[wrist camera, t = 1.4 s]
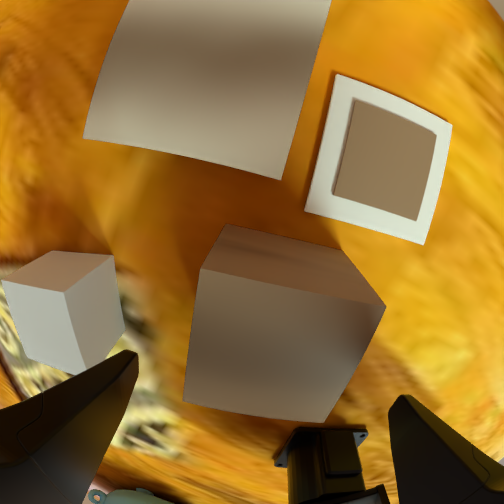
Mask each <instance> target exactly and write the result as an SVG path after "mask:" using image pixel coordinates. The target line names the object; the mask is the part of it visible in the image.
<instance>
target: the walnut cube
mask: <svg viewBox="0 0 504 504" xmlns="http://www.w3.org/2000/svg"><path fill="white" fill-rule="evenodd" d="M385 309H386V305H385V304H384V303H383V301H382V300H381V299H380V297H379V296H378V295H377V293H376V292H375V291H374V290H373V288H372V287H371V286H370V284H369V283H368V282H367V281H366V279H365V278H364V277H363V275H362V274H361V273H360V272H359V270H358V269H357V268H356V267H355V265H354V264H353V263H352V262H351V260H350V259H349V258H348V257H347V255H346V254H345V253H344V252H343V251H342V250H338V249H334V248H330V247H326V246H322V245H318V244H313V243H309V242H305V241H301V240H297V239H292V238H288V237H284V236H279V235H275V234H271V233H266V232H262V231H258V230H253V229H249V228H244V227H240V226H235V225H231V224H226V225H225V226H224V228H223V230H222V231H221V233H220V235H219V236H218V238H217V240H216V242H215V243H214V245H213V247H212V249H211V250H210V252H209V254H208V256H207V257H206V259H205V261H204V263H203V264H202V266H201V268H200V273H199V280H198V286H197V292H196V299H195V306H194V313H193V320H192V327H191V334H190V342H189V350H188V358H187V366H186V374H185V383H184V393H183V401H184V402H188V403H192V404H196V405H200V406H205V407H209V408H214V409H219V410H224V411H229V412H234V413H240V414H246V415H252V416H259V417H266V418H273V419H282V420H291V421H302V422H316V423H324V421H325V420H326V418H327V417H328V415H329V414H330V412H331V410H332V409H333V407H334V406H335V404H336V402H337V401H338V399H339V397H340V396H341V394H342V392H343V391H344V389H345V387H346V386H347V384H348V382H349V380H350V379H351V377H352V375H353V373H354V372H355V370H356V368H357V366H358V364H359V362H360V361H361V359H362V357H363V355H364V353H365V351H366V349H367V347H368V345H369V343H370V341H371V339H372V337H373V335H374V333H375V331H376V329H377V327H378V324H379V322H380V320H381V318H382V316H383V313H384V311H385Z"/></svg>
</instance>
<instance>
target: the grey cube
mask: <svg viewBox="0 0 504 504" xmlns="http://www.w3.org/2000/svg"><path fill="white" fill-rule="evenodd" d="M1 281H2V285H3V289H4V293H5V296H6V300H7V303H8V306H9V309H10V313H11V316H12V319H13V322H14V324H15V327H16V330H17V333H18V335H19V338H20V341H21V343H22V346H23V348H24V351H25V353H26V355H27V357H28V358H30V359H32V360H35V361H37V362H40V363H43V364H45V365H48V366H51V367H53V368H56V369H59V370H62V371H65V372H68V373H71V374H74V375H77V374H79V373H81V372H83V371H85V370H87V369H89V368H91V367H93V366H95V365H97V364H98V363H100V362H102V361H104V359H105V358H106V356H107V355H108V354H109V352H110V351H111V349H112V348H113V347H114V345H115V344H116V342H117V341H118V340H119V338H120V337H121V336H122V334H123V333H124V331H125V325H124V320H123V315H122V309H121V304H120V298H119V292H118V285H117V278H116V271H115V263H114V255H104V254H90V253H77V252H64V251H50V252H48V253H47V254H45V255H43V256H41V257H39V258H38V259H36V260H34V261H32V262H30V263H29V264H27V265H25V266H23V267H22V268H20V269H18V270H17V271H15V272H13V273H12V274H10V275H8V276H7V277H5V278H3V279H2V280H1Z"/></svg>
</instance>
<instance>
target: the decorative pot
mask: <svg viewBox="0 0 504 504" xmlns="http://www.w3.org/2000/svg"><path fill="white" fill-rule="evenodd" d="M94 495H98V496H100V500H99V501H96V500H95V499H94ZM88 497H89V500H90V501H91V502H93V503H95V504H173V503H171V502H168V501H165V500H163V499H160V498H157V497H155V496H154V494H153V493H152V492H150V491H148V490H146V489H142V488H136V491H134V490H124V489H119V490H115V491H113V492H110V493H109V494H107V495H106V494H105V493H104V492H102V491H100V490H96V489H93V490H91V491H90V492H89V494H88Z"/></svg>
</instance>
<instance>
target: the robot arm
mask: <svg viewBox="0 0 504 504" xmlns="http://www.w3.org/2000/svg"><path fill="white" fill-rule="evenodd" d="M138 374H139V361H138V354H137V353H136V352H133V351H130V350H123V351H121V352H119V353H117V354H116V355H114V356H112V357H110V358H108V359H106V360H104V361H102V362H100V363H98V364H97V365H95V366H93V367H91V368H89V369H87V370H85V371H83V372H81V373H79V374H77V375H75V376H73V377H71V378H69V379H67V380H65V381H63V382H61V383H59V384H57V385H55V386H53V387H51V388H49V389H47V390H45V391H44V392H43V393H42V392H41V393H39V394H37V395H35V396H33V397H31V398H29V399H26V400H24V401H22V402H20V403H17V404H14V405H12V406H9V407H6V408H3V409H0V504H82V502H83V500H84V498H85V496H86V493H87V491H88V489H89V487H90V485H91V483H92V480H93V478H94V476H95V474H96V472H97V470H98V468H99V465H100V463H101V461H102V459H103V457H104V455H105V453H106V451H107V449H108V447H109V445H110V443H111V441H112V439H113V437H114V434H115V432H116V430H117V428H118V426H119V424H120V422H121V420H122V418H123V416H124V414H125V411H126V408H127V406H128V403H129V400H130V397H131V394H132V392H133V389H134V386H135V383H136V381H137V378H138ZM388 420H389V430H390V442H391V451H392V457H393V463H394V469H395V475H396V482H397V489H398V497H399V504H504V466H503V465H501V464H499V463H498V462H496V461H495V460H493V459H492V458H490V457H489V456H487V455H486V454H484V453H483V452H482V451H480V450H479V449H478V448H477V447H475V446H474V445H473V444H471V443H470V442H469V441H468V440H466V439H465V438H464V437H463V436H461V435H460V434H459V433H458V432H456V431H455V430H454V429H452V428H451V427H450V426H449V425H447V424H446V423H445V422H444V421H442V420H441V419H440V418H439V417H437V416H436V415H435V414H434V413H432V412H431V411H430V410H429V409H427V408H426V407H425V406H424V405H422V404H421V403H420V402H419V401H418V400H416V399H415V398H414V397H413V396H411V395H408V394H407V395H400V396H399V397H398V398H397V399H396V401H395V402H394V404H393V405H392V406H391V408H390V409H389V412H388ZM367 436H368V431H367V429H325V428H307V427H299V428H296V429H295V430H294V431H293V433H292V434H291V436H290V438H289V439H288V441H287V442H286V444H285V446H284V447H283V449H282V450H281V452H280V453H279V455H278V457H277V458H276V460H275V461H274V466H276V467H283V468H287V473H288V499H289V504H390V502H389V499H388V496H387V493H386V490H385V487H384V484H380V485H377V486H376V487H374V488H371V489H368V490H366V488H365V484H364V479H363V475H362V465H361V461H360V457H359V453H358V449H357V448H358V446H359V445H360V444H361V443H362V442H363V441H364V440H365V438H366V437H367Z"/></svg>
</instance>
